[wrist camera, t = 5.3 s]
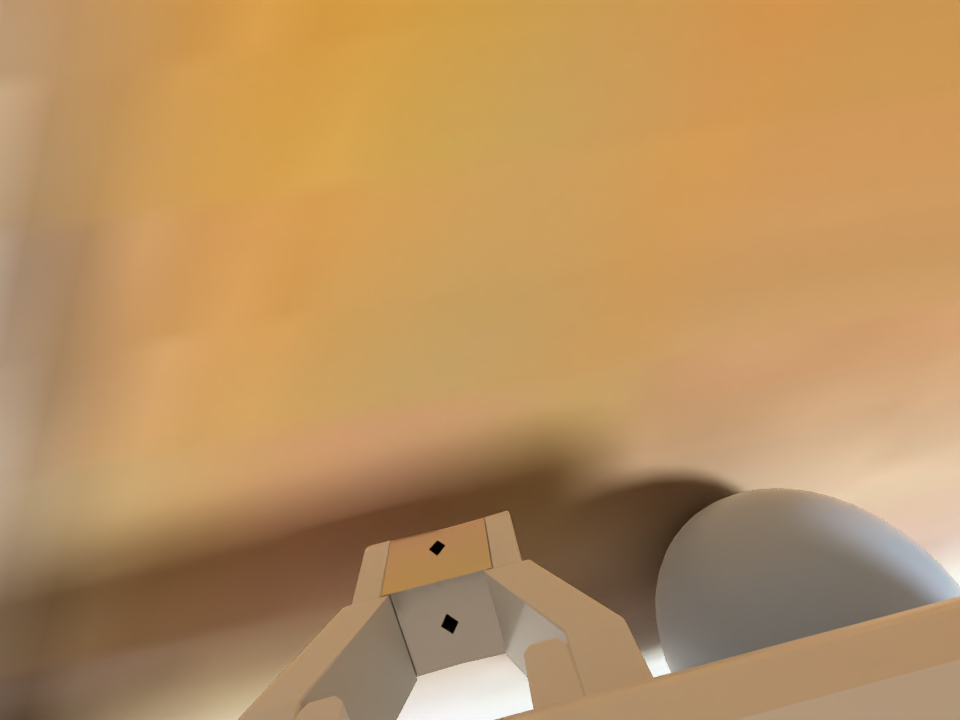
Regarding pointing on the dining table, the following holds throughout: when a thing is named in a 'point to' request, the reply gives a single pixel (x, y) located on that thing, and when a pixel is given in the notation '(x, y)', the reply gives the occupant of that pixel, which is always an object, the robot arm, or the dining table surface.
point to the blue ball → (784, 574)
